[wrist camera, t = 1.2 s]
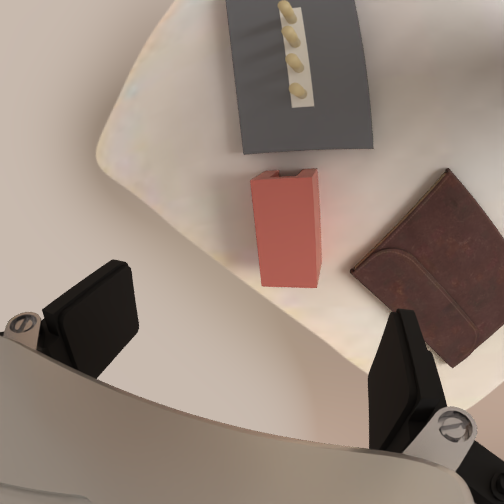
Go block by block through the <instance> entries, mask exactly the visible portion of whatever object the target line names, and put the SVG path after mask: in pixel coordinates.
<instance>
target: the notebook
mask: <svg viewBox="0 0 504 504" xmlns="http://www.w3.org/2000/svg"><path fill="white" fill-rule="evenodd" d="M446 171H447V172H445V173H444V174H443V175H442V176H441V177H440V178H439V180H438V181H437V182H436V183H435V184H434V185H433V186H432V187H431V189H430V190H429V191H428V192H427V193H426V194H425V195H424V196H423V197H422V198H421V200H420V201H419V202H418V203H417V204H416V205H415V206H414V207H413V208H412V209H411V210H410V211H409V212H408V213H407V215H406V216H405V217H404V218H403V219H402V220H401V221H400V222H399V223H398V224H397V225H396V226H395V227H394V228H393V229H392V230H391V231H390V232H389V233H388V234H387V235H386V236H385V237H384V238H383V239H382V240H381V241H380V242H379V243H378V244H377V245H376V246H375V247H374V248H373V249H372V250H371V251H370V252H369V253H368V254H367V255H366V256H365V257H364V258H363V259H362V260H361V261H360V262H359V263H358V264H357V265H356V266H355V270H354V269H351V270H350V273H351V274H352V275H353V276H354V277H355V278H357V279H358V280H359V281H360V282H361V283H362V284H363V285H364V286H365V287H367V288H368V289H369V290H370V291H371V292H372V293H373V294H374V295H375V296H377V297H378V298H379V299H380V300H381V301H382V302H383V303H384V304H385V305H386V306H387V307H389V308H390V309H391V310H392V311H393V312H396V310H397V309H398V308H400V309H407V310H414V312H415V315H416V317H417V320H418V323H419V326H420V329H421V332H422V335H423V338H424V341H425V342H426V343H427V344H428V345H429V346H430V347H431V348H432V349H433V350H434V351H435V352H436V353H437V354H438V355H439V356H440V357H441V358H442V359H443V360H444V361H445V362H446V363H447V364H448V365H449V366H450V367H452V368H454V367H455V366H456V365H458V364H459V363H460V362H462V361H463V360H464V359H466V358H467V357H468V356H469V355H470V354H471V353H472V352H473V351H474V350H475V349H476V348H477V347H478V346H480V345H481V344H482V343H483V342H484V341H485V340H487V339H488V338H489V337H490V336H491V335H492V334H494V333H495V332H496V331H497V330H498V329H499V328H500V327H501V326H503V325H504V238H503V237H502V235H501V234H500V233H499V231H498V230H497V228H496V227H495V226H494V224H493V223H492V221H491V220H490V219H489V217H488V216H487V215H486V213H485V212H484V211H483V209H482V208H481V207H480V205H479V204H478V203H477V202H476V200H475V199H474V198H473V196H472V195H471V194H470V193H469V192H468V190H467V189H466V188H465V187H464V185H463V184H462V183H461V182H460V181H459V180H458V178H457V177H456V176H455V175H454V174H453V173H452V171H451V170H450V169H449V168H447V169H446Z"/></svg>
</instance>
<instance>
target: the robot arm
mask: <svg viewBox="0 0 504 504" xmlns="http://www.w3.org/2000/svg"><path fill="white" fill-rule="evenodd" d="M42 311H43V315H44V319H43V320H42V321H41V318H40V316H39V315H38V314H36V313H33V312H25V313H20V314H18V315H16V316H14V317H13V318H11V319H10V320H9V321H8V323H7V325H6V328H5V331H4V332H0V504H504V461H502V460H501V459H500V458H498V457H497V456H496V455H494V454H493V453H491V452H490V451H489V450H487V449H486V448H485V447H483V446H482V445H480V444H479V443H478V442H476V441H475V438H476V435H477V425H476V423H475V420H474V419H473V418H472V416H471V415H470V414H469V413H467V412H466V411H465V410H463V409H461V408H457V407H447V404H446V400H445V396H444V392H443V389H442V385H441V381H440V378H439V374H438V371H437V368H436V364H435V361H434V358H433V355H432V353H431V352H430V351H428V350H427V348H426V344H425V341H424V338H423V335H422V332H421V329H420V326H419V323H418V320H417V317H416V315H415V312H414V310H407V309H400V308H398V309H397V310H396V312H391V313H390V315H389V318H388V321H387V324H386V327H385V330H384V333H383V336H382V339H381V342H380V345H379V347H378V350H377V353H376V356H375V358H374V361H373V364H372V366H371V369H370V372H369V375H368V397H369V449H366V448H359V447H350V446H340V445H333V444H325V443H319V442H313V441H306V440H301V439H295V438H289V437H283V436H278V435H272V434H268V433H262V432H258V431H253V430H249V429H245V428H241V427H237V426H232V425H229V424H225V423H221V422H217V421H213V420H209V419H206V418H203V417H199V416H196V415H192V414H189V413H186V412H183V411H179V410H176V409H174V408H170V407H167V406H165V405H162V404H158V403H156V402H153V401H150V400H147V399H145V398H142V397H139V396H136V395H134V394H131V393H129V392H126V391H124V390H121V389H119V388H116V387H114V386H111V385H109V384H107V383H104V382H102V381H100V380H97V377H98V376H99V375H100V374H101V373H102V372H103V371H104V370H105V368H106V367H107V366H108V365H109V364H110V363H111V362H112V360H113V359H114V358H115V357H116V356H117V355H118V353H120V351H121V350H122V349H123V348H124V347H125V346H126V345H127V344H128V343H129V341H130V340H131V339H132V338H133V337H134V336H135V335H136V333H137V332H138V329H139V322H138V315H137V309H136V303H135V295H134V287H133V280H132V271H131V268H130V267H129V266H128V264H127V263H126V262H123V261H118V260H111V261H109V262H108V263H106V264H105V265H103V266H102V267H101V268H99V269H98V270H96V271H95V272H93V273H92V274H90V275H89V276H88V277H86V278H85V279H84V280H82V281H80V282H79V283H78V284H76V285H75V286H73V287H72V288H71V289H69V290H68V291H67V292H65V293H64V294H62V295H61V296H60V297H59V298H57V299H56V300H54V301H53V302H52V303H50V304H49V305H48V306H46V307H45V308H44V309H42Z"/></svg>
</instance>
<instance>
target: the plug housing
mask: <svg viewBox="0 0 504 504" xmlns="http://www.w3.org/2000/svg"><path fill="white" fill-rule="evenodd" d="M250 183H251V192H252V201H253V210H254V219H255V228H256V237H257V247H258V256H259V265H260V274H261V284H262V286H266V287H299V288H317V285H318V280H319V274H320V269H321V264H322V259H321V227H320V205H319V187H318V172H317V169H303V170H302V171H301V172H300V173H299V174H298V175H297V176H287V177H280V175H279V170H274V171H265V172H263V173H261V174H260V175H258V176H256V177H255V178H253V179H251V180H250Z"/></svg>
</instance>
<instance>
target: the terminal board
mask: <svg viewBox="0 0 504 504" xmlns="http://www.w3.org/2000/svg"><path fill="white" fill-rule="evenodd" d="M226 7H227V16H228V24H229V33H230V41H231V50H232V58H233V67H234V75H235V84H236V93H237V101H238V110H239V118H240V127H241V136H242V145H243V153H244V154H256V153H269V152H283V151H300V150H324V149H373V133H372V119H371V108H370V98H369V88H368V80H367V72H366V64H365V57H364V51H363V44H362V38H361V32H360V27H359V21H358V16H357V11H356V6H355V1H354V0H226Z"/></svg>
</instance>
